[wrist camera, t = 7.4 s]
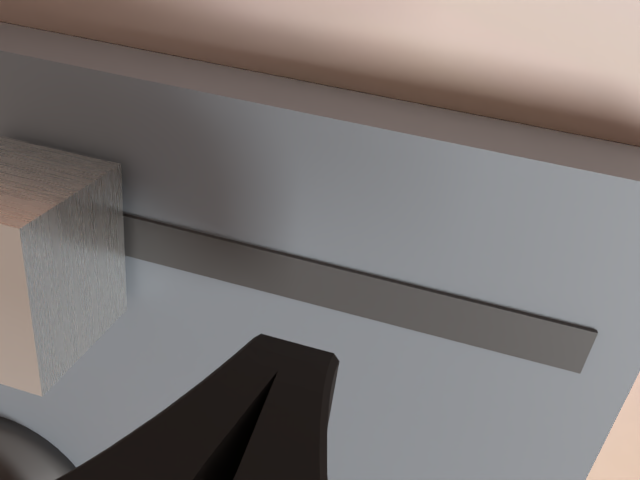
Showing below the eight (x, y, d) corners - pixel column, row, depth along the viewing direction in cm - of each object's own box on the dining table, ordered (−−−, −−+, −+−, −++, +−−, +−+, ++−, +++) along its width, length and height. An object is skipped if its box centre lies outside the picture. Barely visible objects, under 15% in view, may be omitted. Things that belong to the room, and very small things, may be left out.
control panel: (473, 643, 20) (469, 734, 18) (-52, 463, 23) (-112, 520, 21) (692, 157, 12) (736, 214, 9) (-176, -13, 15) (-295, -1, 13)
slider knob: (126, 309, 14) (42, 397, 11) (12, 277, 15) (-93, 354, 12) (121, 164, 12) (19, 228, 10) (-10, 133, 13) (-139, 188, 10)
